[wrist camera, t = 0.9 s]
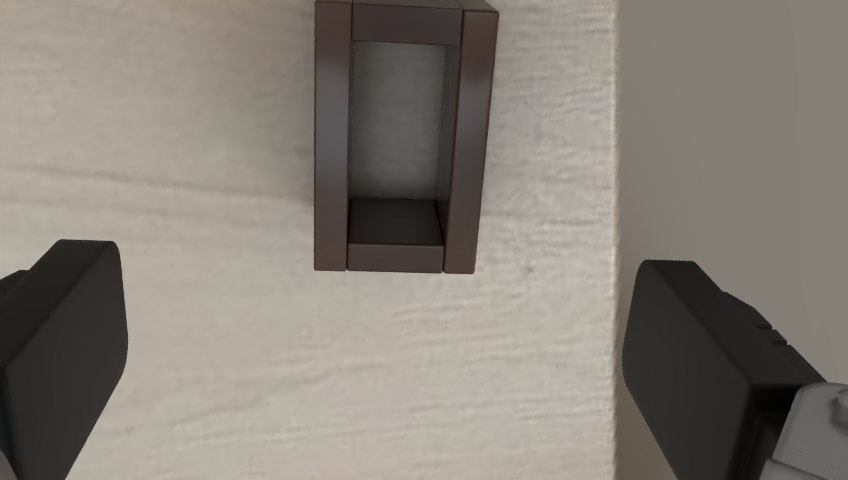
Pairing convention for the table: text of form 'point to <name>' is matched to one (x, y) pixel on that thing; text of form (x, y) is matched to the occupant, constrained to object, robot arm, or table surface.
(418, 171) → the table surface
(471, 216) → the frame
